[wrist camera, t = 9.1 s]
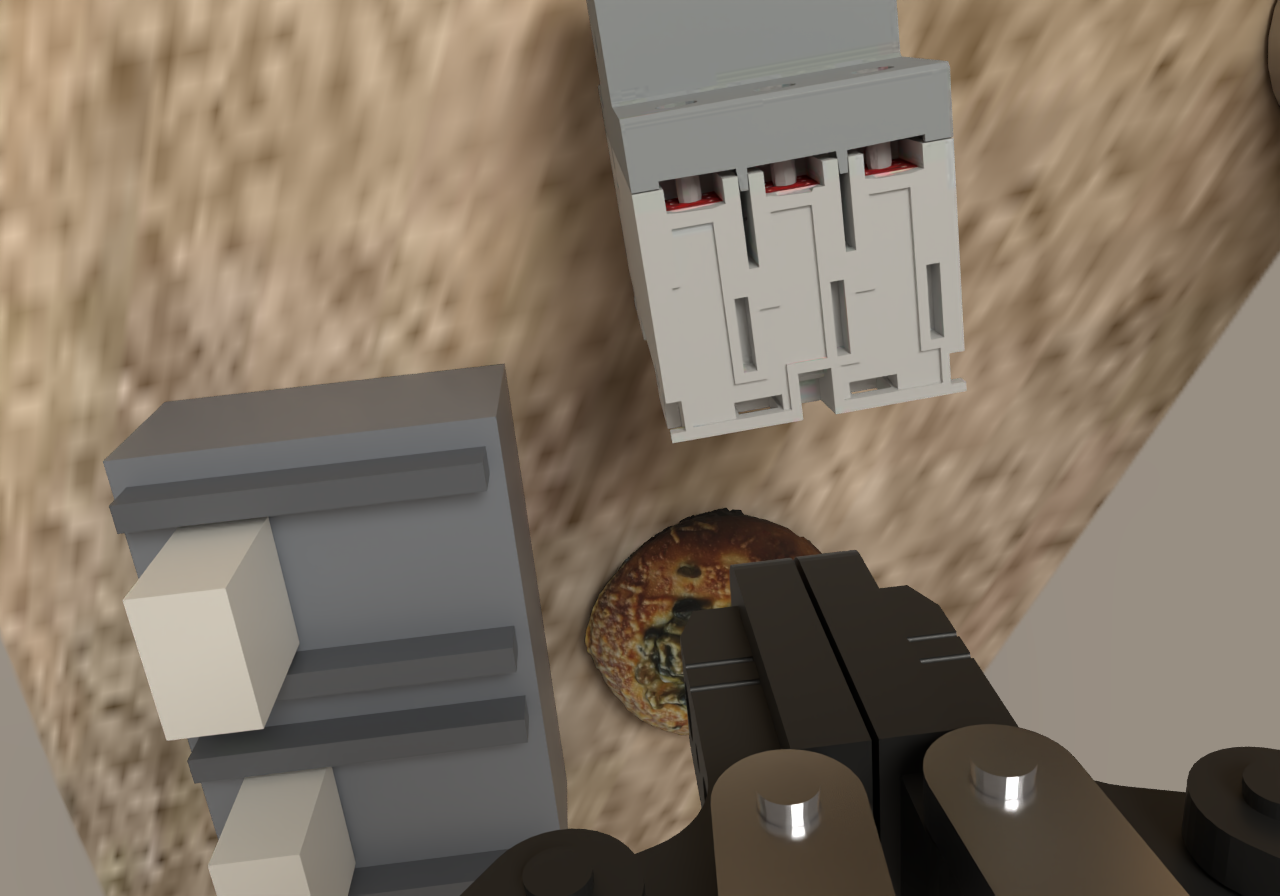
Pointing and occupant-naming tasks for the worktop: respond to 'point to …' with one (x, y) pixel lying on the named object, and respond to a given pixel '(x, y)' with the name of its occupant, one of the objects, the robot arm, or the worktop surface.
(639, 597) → the bread roll
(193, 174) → the worktop surface
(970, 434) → the worktop surface
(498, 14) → the worktop surface
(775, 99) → the circuit breaker
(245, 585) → the block
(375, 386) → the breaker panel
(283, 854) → the breaker
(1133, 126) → the worktop surface
